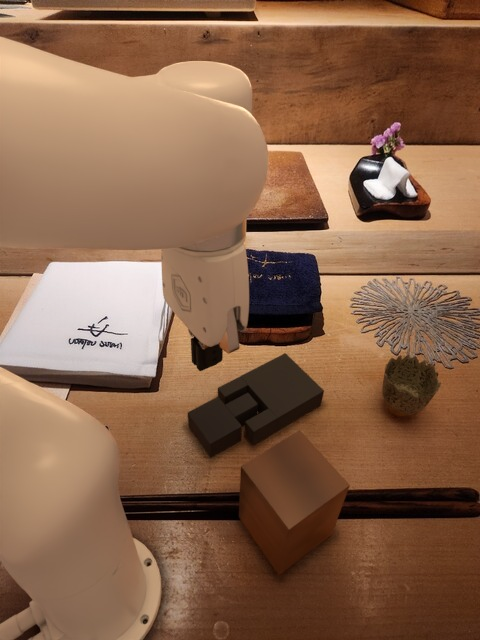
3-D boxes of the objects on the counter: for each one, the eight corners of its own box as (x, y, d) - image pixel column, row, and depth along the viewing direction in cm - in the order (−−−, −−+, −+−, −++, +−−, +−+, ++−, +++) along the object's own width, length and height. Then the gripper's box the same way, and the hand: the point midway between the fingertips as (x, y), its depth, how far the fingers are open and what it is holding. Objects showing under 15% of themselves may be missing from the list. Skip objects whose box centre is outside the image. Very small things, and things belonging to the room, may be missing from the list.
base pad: (252, 446, 63) (253, 431, 61) (217, 402, 69) (217, 387, 66) (320, 405, 69) (324, 390, 66) (283, 367, 74) (285, 352, 72)
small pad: (210, 458, 62) (210, 444, 59) (188, 427, 65) (187, 412, 63) (264, 427, 66) (265, 412, 63) (240, 399, 69) (241, 384, 67)
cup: (426, 434, 65) (444, 400, 60) (373, 425, 66) (386, 390, 61) (421, 394, 71) (438, 358, 65) (373, 386, 72) (385, 350, 66)
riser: (278, 575, 51) (288, 529, 43) (238, 517, 56) (240, 465, 48) (331, 534, 55) (350, 485, 47) (289, 482, 60) (299, 429, 51)
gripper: (130, 197, 44) (148, 337, 56) (213, 275, 35) (214, 421, 47) (198, 180, 47) (201, 315, 59) (289, 247, 38) (272, 390, 50)
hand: (207, 362), depth 53 cm, fingers closed
